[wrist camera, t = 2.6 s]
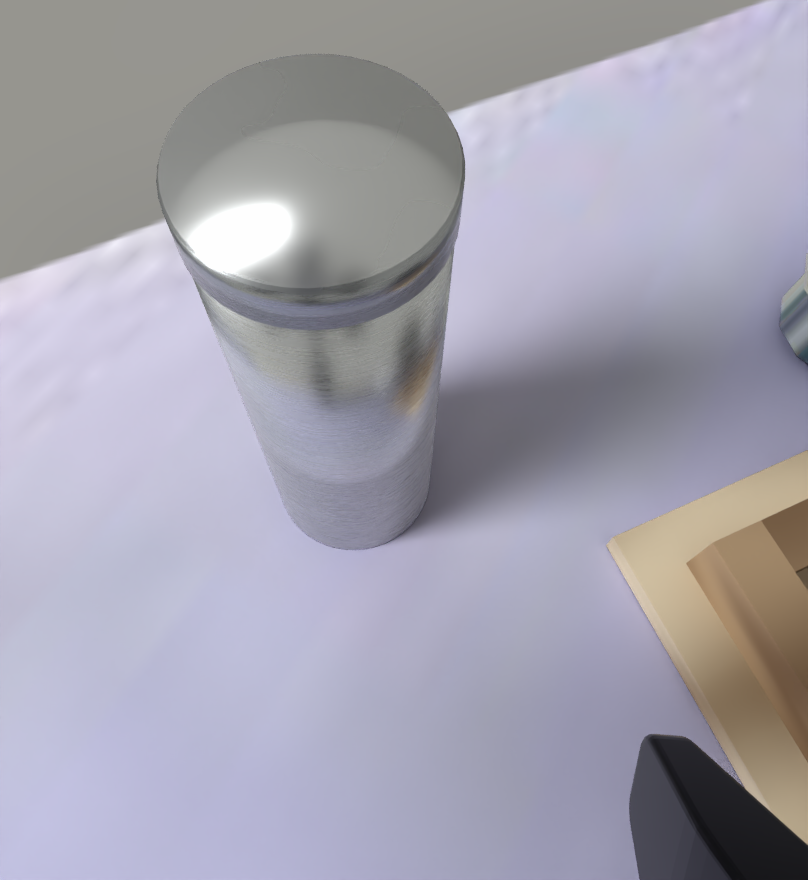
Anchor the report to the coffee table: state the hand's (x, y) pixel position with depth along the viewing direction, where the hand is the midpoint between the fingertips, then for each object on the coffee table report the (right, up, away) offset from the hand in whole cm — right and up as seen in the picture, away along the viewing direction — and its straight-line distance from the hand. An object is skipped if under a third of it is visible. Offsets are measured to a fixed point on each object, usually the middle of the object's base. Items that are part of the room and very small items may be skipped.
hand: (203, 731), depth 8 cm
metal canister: (+1, +2, +16) cm, 16 cm away
